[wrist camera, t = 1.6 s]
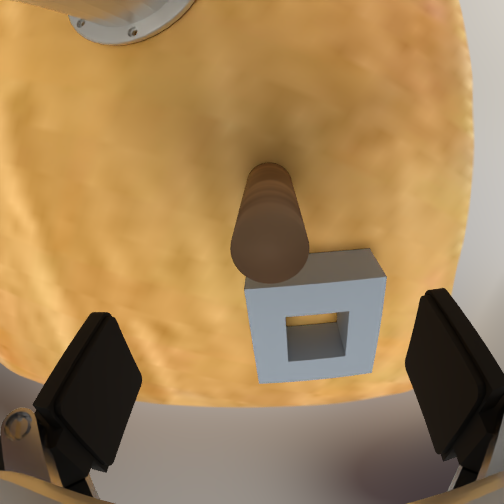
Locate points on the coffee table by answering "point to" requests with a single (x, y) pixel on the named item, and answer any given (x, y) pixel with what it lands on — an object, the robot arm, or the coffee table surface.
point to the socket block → (318, 302)
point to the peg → (269, 228)
